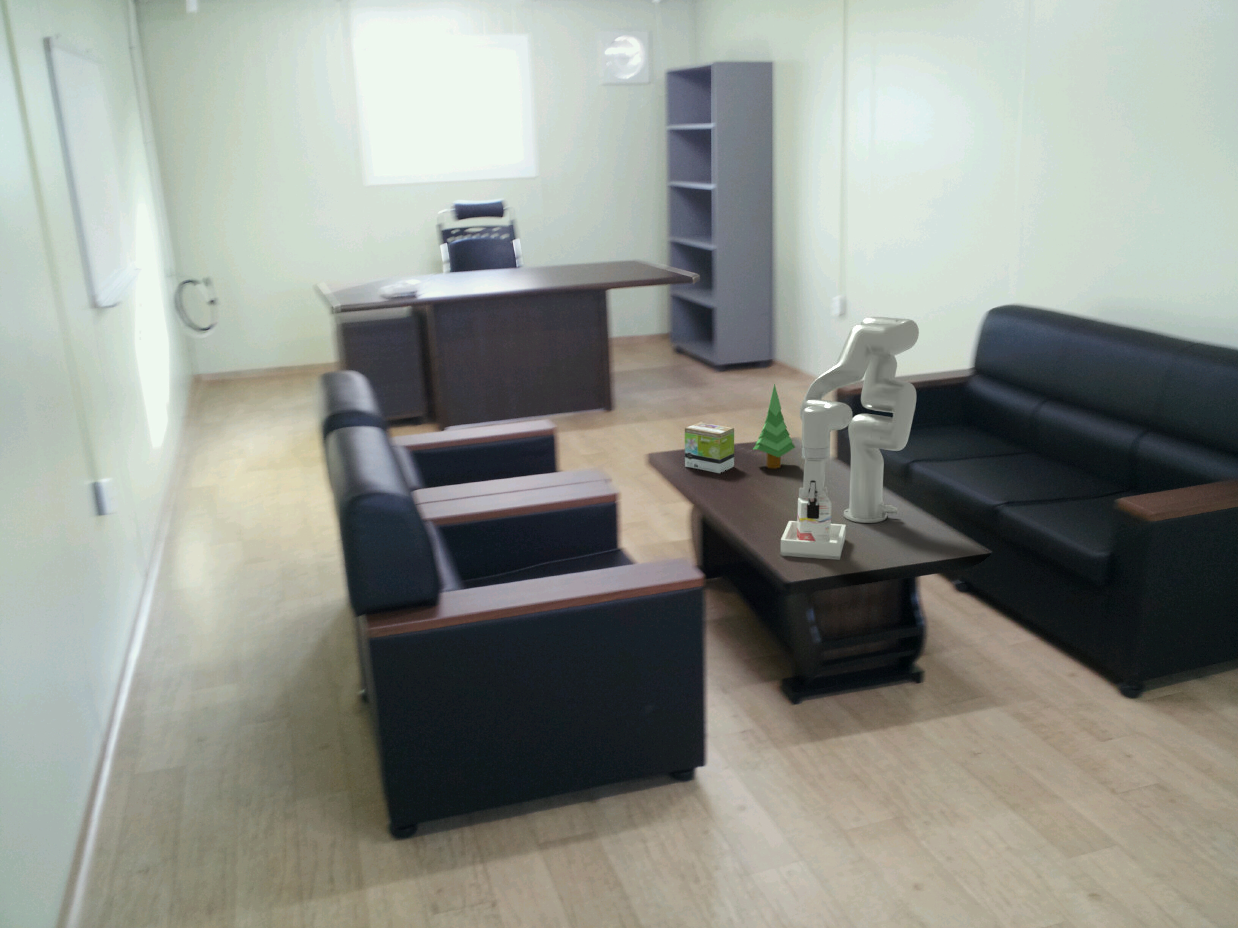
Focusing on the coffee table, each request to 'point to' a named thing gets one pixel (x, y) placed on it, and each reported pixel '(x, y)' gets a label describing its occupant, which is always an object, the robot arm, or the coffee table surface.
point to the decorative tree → (774, 434)
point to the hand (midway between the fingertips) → (814, 513)
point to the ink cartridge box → (814, 527)
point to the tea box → (709, 447)
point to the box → (813, 543)
